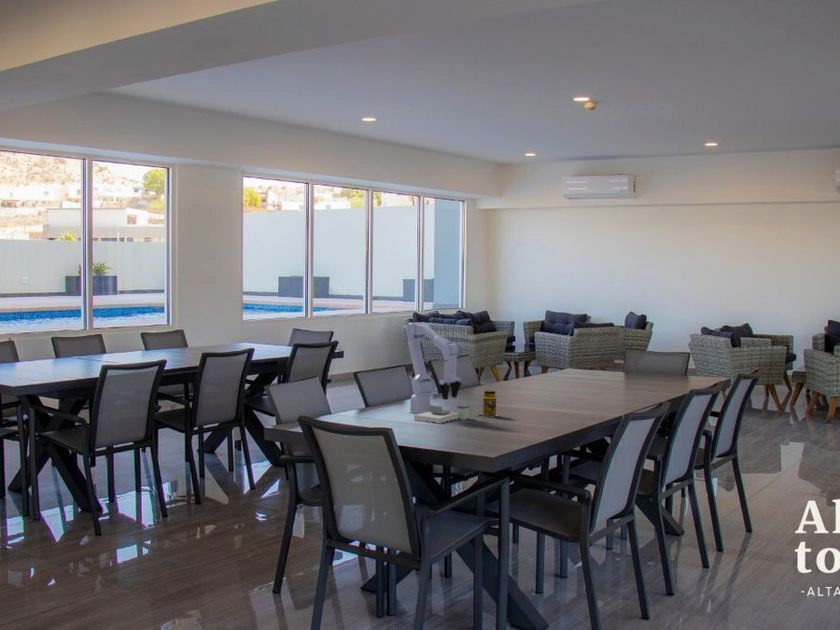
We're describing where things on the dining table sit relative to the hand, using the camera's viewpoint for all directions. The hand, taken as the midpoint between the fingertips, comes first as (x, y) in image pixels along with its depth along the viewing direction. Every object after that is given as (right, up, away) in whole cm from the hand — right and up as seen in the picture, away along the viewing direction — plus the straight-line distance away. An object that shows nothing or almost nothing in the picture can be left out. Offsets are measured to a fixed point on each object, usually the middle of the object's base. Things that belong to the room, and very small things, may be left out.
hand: (449, 398), depth 392 cm
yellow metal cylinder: (+19, -10, +9) cm, 23 cm away
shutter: (-5, -7, -1) cm, 8 cm away
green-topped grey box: (+6, -10, +1) cm, 11 cm away
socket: (-6, -10, -2) cm, 11 cm away
